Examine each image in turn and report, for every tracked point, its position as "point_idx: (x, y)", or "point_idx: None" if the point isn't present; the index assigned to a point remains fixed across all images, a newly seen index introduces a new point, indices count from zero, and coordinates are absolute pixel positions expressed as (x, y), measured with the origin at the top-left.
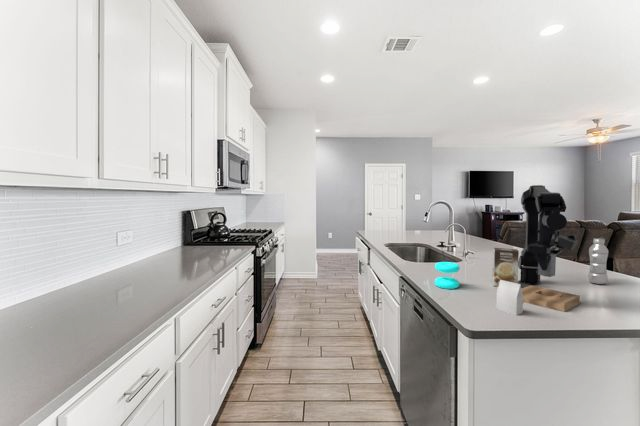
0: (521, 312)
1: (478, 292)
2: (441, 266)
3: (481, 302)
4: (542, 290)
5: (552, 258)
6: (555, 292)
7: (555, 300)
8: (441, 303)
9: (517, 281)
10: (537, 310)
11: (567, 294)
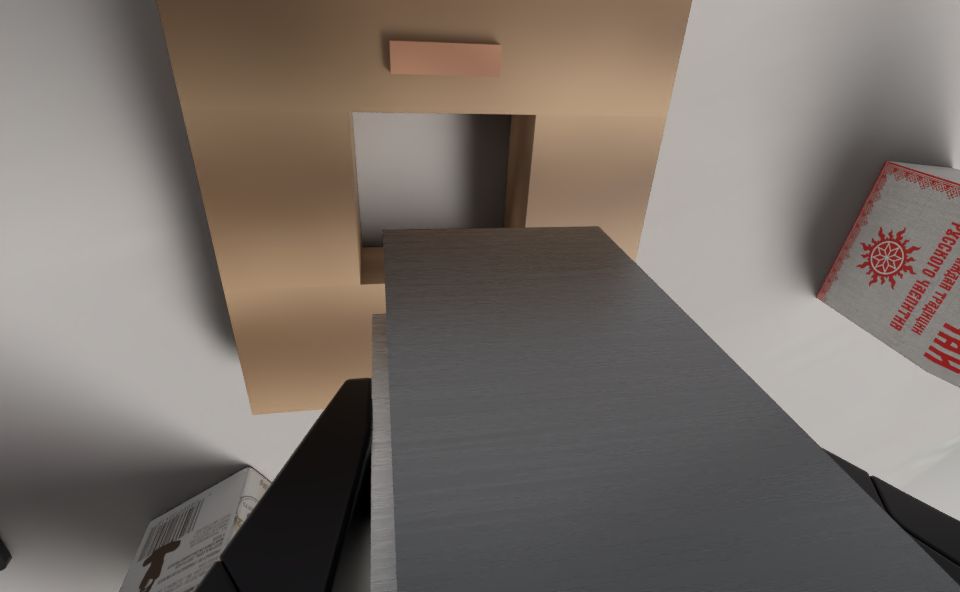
0: (907, 164)
1: None
2: None
3: (790, 402)
4: (347, 274)
5: (787, 561)
6: (299, 157)
7: (663, 28)
8: (915, 473)
9: (232, 522)
10: (759, 116)
11: (252, 17)
